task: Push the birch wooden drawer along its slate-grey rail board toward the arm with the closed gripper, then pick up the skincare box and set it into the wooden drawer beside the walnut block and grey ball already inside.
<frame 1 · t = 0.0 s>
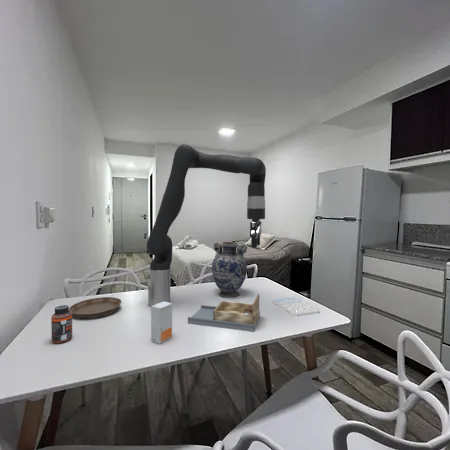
hand: (255, 246, 108), 29 cm above the table, fingers open, 8 cm apart
grey ball: (246, 320, 99), point 2 cm above the table, touching wooden drawer
supplement bottle: (62, 340, 87), on the table
white flat textured slab: (294, 308, 120), on the table
rail board: (225, 319, 105), on the table
wooden drawer: (237, 307, 103), point 6 cm above the table, slide at 0.0 cm, touching grey ball, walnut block
decorative vase: (229, 295, 138), on the table
skincare box: (162, 339, 88), on the table
plant saucer: (96, 312, 114), on the table
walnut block: (249, 314, 105), point 2 cm above the table, touching wooden drawer
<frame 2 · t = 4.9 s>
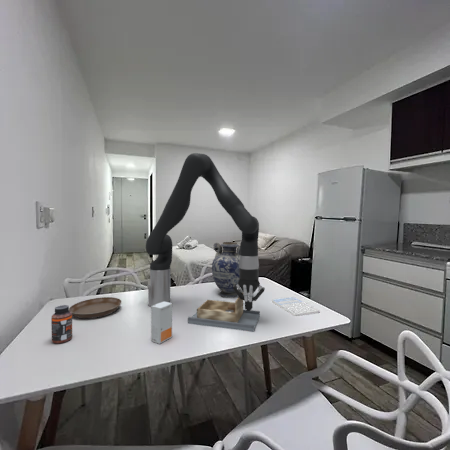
hand: (248, 310, 102), 5 cm above the table, fingers closed
grey ball: (229, 318, 101), point 2 cm above the table, touching wooden drawer
wooden drawer: (220, 305, 105), point 6 cm above the table, slide at 6.8 cm, touching hand, grey ball, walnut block
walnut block: (233, 313, 107), point 2 cm above the table, touching wooden drawer
everything else where it was.
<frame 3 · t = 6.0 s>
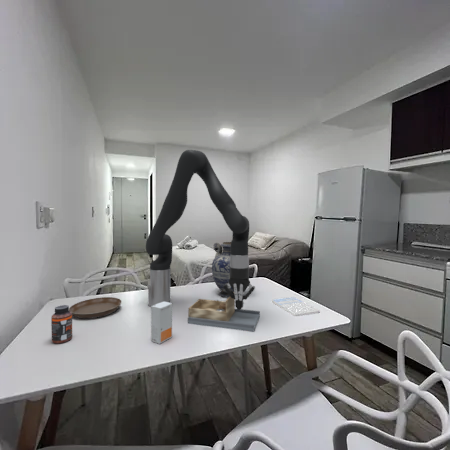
hand: (239, 308, 103), 5 cm above the table, fingers closed
grey ball: (220, 317, 102), point 2 cm above the table, touching wooden drawer
wooden drawer: (212, 304, 106), point 6 cm above the table, slide at 10.4 cm, touching hand, grey ball, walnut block
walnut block: (224, 312, 108), point 2 cm above the table, touching wooden drawer
everything else where it was.
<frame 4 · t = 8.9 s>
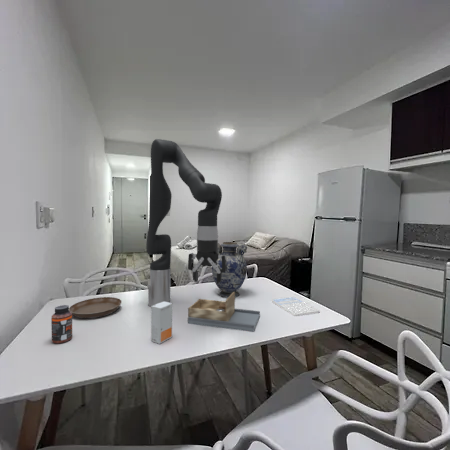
hand: (207, 282, 95), 18 cm above the table, fingers open, 8 cm apart
wooden drawer: (212, 304, 106), point 6 cm above the table, slide at 10.5 cm, touching grey ball, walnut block
everything else where it was.
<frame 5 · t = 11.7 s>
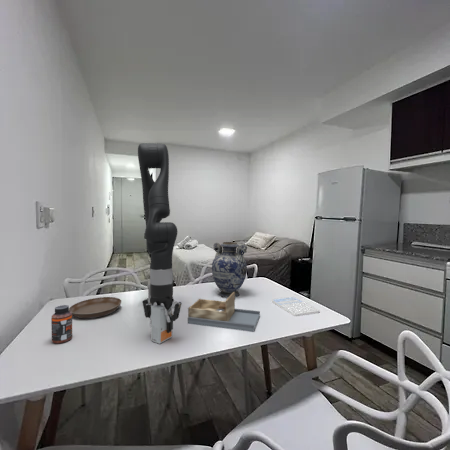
hand: (161, 330, 88), 3 cm above the table, fingers closed on skincare box, 5 cm apart
skincare box: (162, 339, 88), on the table, touching gripper
everything else where it was.
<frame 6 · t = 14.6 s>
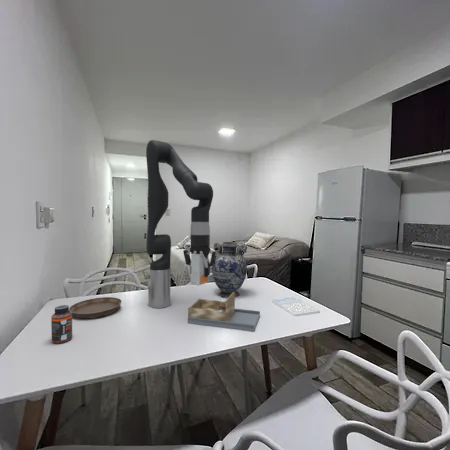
hand: (200, 276, 102), 18 cm above the table, fingers closed on skincare box, 5 cm apart
skincare box: (200, 283, 102), point 15 cm above the table, touching gripper
everything else where it was.
when the fingers open (6 cm above the table, at t = 17.8 s): skincare box drops 1 cm, resting on wooden drawer.
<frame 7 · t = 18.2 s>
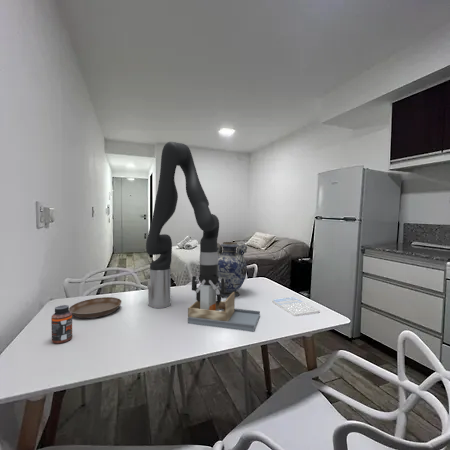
hand: (208, 301, 106), 7 cm above the table, fingers open, 8 cm apart
wooden drawer: (212, 304, 106), point 6 cm above the table, slide at 10.6 cm, touching skincare box, grey ball, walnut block
skincare box: (208, 313, 107), point 2 cm above the table, touching wooden drawer
everything else where it was.
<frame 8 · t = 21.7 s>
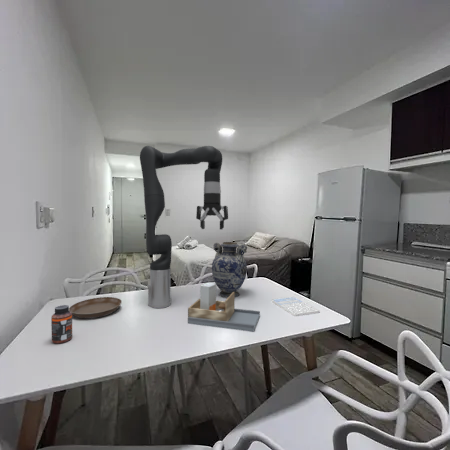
hand: (212, 229, 116), 36 cm above the table, fingers open, 8 cm apart
nothing on the table moved.
at the end: wooden drawer slide at 10.6 cm; skincare box inside the target area on the wooden drawer (1.4 cm from its centre), point 1.7 cm above the wooden drawer's base; the gripper is holding nothing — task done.
